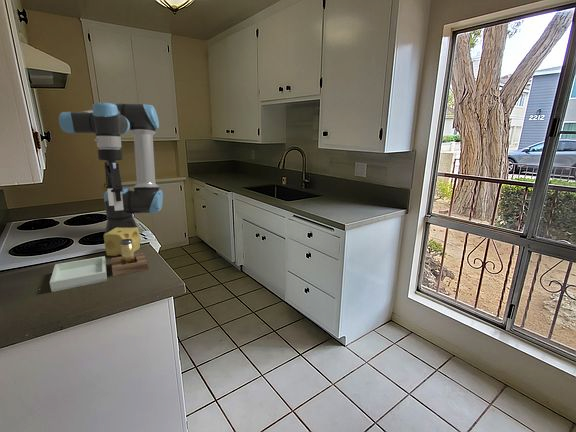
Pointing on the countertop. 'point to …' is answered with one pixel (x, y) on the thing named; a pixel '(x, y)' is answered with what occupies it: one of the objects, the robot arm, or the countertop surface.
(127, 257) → the brown and black cylinder
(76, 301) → the countertop surface
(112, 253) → the cheese
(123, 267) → the pin block
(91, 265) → the tray
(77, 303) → the countertop surface
